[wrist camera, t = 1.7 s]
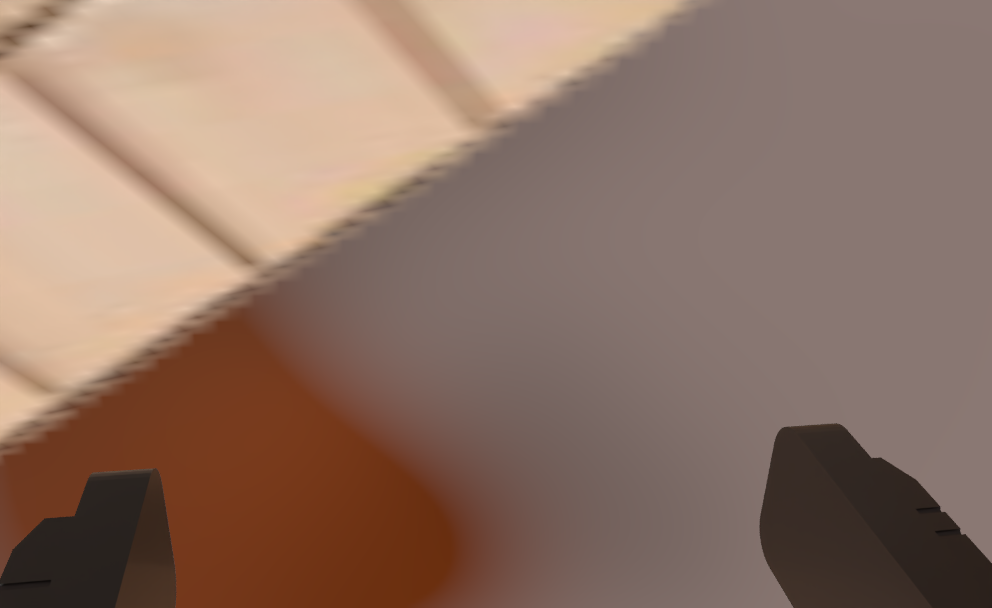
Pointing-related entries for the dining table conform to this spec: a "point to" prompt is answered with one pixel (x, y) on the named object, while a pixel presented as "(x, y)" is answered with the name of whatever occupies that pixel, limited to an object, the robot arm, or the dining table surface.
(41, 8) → the dining table surface
